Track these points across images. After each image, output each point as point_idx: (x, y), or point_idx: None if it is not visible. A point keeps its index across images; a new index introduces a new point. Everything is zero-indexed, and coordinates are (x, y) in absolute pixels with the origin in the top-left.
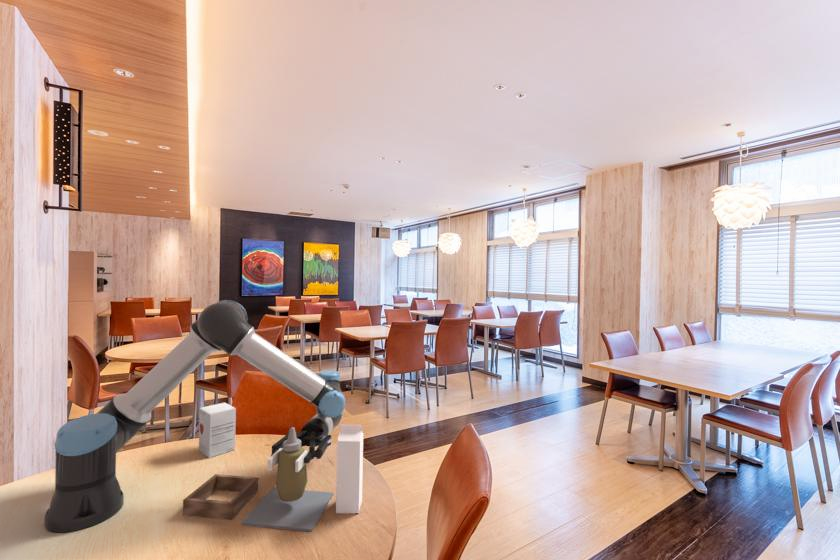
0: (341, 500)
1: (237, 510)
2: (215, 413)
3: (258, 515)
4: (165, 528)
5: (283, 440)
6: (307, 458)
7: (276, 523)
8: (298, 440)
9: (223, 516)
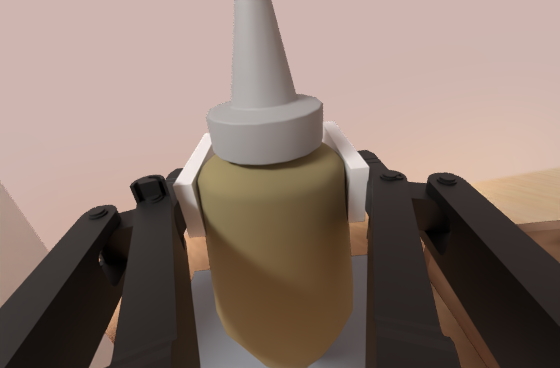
0: None
1: (438, 283)
2: None
3: (361, 283)
4: (521, 219)
5: (497, 256)
6: (176, 171)
7: None
8: (226, 111)
9: None
